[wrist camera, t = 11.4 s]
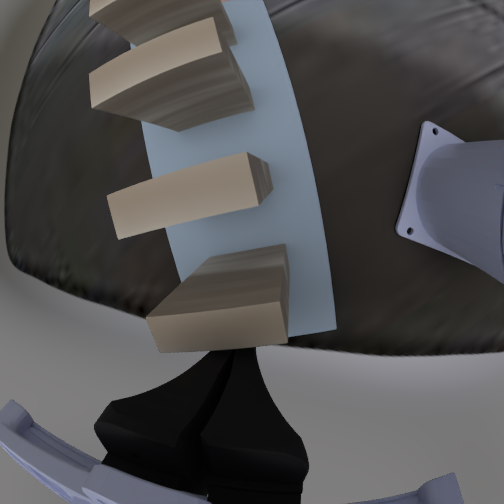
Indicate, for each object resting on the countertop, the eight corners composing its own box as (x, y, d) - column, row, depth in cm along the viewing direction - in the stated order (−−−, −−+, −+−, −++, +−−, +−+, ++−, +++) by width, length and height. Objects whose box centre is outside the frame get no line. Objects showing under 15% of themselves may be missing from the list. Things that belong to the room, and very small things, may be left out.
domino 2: (255, 110, 15) (222, 51, 6) (178, 132, 16) (91, 108, 7) (249, 87, 14) (213, 16, 6) (174, 110, 15) (89, 73, 7)
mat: (335, 326, 18) (336, 329, 18) (205, 342, 20) (203, 345, 20) (239, -52, 10) (238, -55, 10) (129, -13, 12) (127, -15, 12)
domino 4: (289, 267, 17) (287, 343, 9) (215, 279, 18) (159, 352, 10) (285, 243, 17) (279, 301, 8) (209, 257, 18) (145, 317, 9)
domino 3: (273, 188, 16) (259, 206, 8) (195, 206, 17) (118, 239, 9) (268, 163, 15) (246, 151, 7) (189, 182, 16) (106, 195, 8)
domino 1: (237, 44, 13) (198, -36, 5) (166, 68, 14) (89, 16, 6) (232, 27, 13) (193, -53, 5) (163, 50, 14) (90, -4, 6)
